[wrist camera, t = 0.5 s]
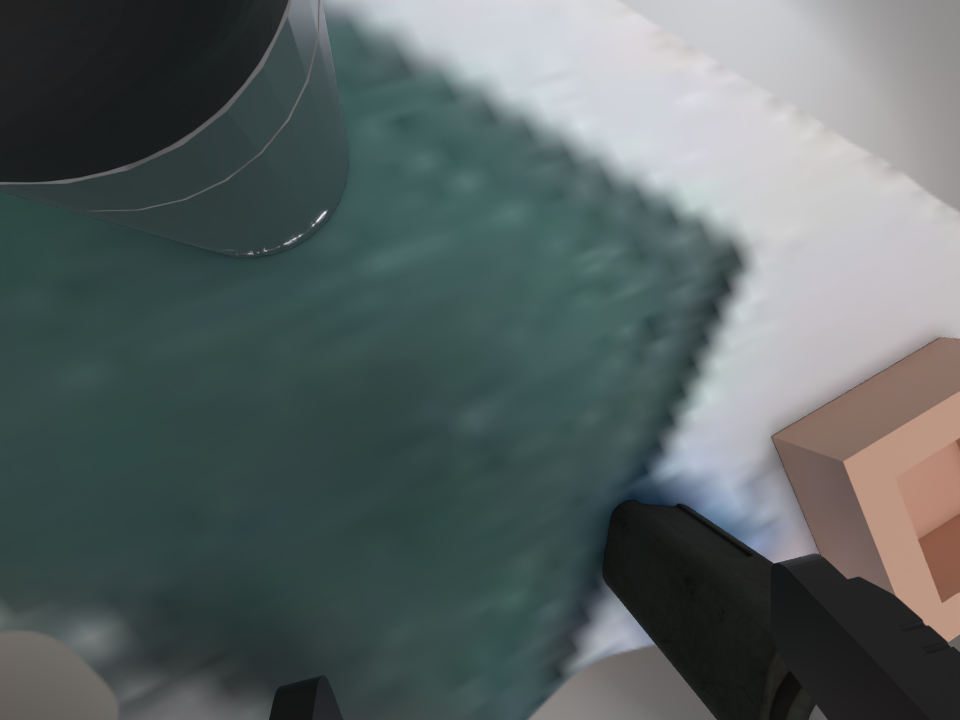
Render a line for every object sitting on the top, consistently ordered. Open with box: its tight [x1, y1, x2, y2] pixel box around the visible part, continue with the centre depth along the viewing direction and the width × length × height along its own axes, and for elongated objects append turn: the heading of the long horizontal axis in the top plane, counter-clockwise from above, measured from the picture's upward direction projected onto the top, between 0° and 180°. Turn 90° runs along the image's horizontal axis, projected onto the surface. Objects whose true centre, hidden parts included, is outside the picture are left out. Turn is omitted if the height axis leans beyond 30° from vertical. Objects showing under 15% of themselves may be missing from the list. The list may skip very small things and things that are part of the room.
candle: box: [603, 500, 828, 720], centre depth 19 cm, size 5×5×25 cm
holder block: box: [772, 337, 960, 642], centre depth 31 cm, size 12×12×5 cm
